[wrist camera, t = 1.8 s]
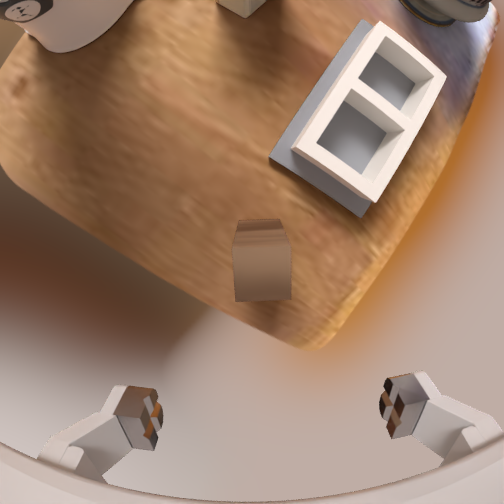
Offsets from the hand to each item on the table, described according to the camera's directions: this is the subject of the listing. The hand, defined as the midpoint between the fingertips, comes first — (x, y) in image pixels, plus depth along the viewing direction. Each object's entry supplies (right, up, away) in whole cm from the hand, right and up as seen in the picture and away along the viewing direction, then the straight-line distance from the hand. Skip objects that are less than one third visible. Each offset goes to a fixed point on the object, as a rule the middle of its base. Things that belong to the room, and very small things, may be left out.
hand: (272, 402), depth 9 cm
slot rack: (+10, +19, +17) cm, 28 cm away
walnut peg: (0, +6, +21) cm, 22 cm away
